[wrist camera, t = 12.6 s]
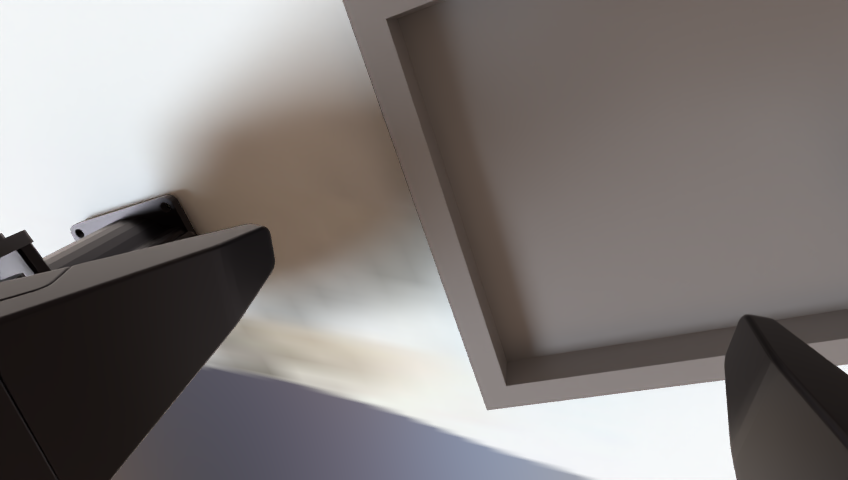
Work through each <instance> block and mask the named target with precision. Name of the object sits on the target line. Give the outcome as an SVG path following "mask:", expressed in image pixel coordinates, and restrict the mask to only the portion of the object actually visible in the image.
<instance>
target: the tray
mask: <svg viewBox="0 0 848 480" xmlns="http://www.w3.org/2000/svg"><path fill="white" fill-rule="evenodd" d="M343 3H344V6H345V9H346V12H347V14H348V17H349V20H350V23H351V26H352V29H353V31H354V34H355V37H356V40H357V43H358V46H359V48H360V51H361V54H362V57H363V60H364V63H365V65H366V68H367V71H368V74H369V77H370V80H371V82H372V85H373V88H374V91H375V94H376V97H377V99H378V102H379V105H380V108H381V111H382V114H383V116H384V119H385V122H386V125H387V128H388V131H389V133H390V136H391V139H392V142H393V145H394V148H395V150H396V153H397V156H398V159H399V162H400V165H401V167H402V170H403V173H404V176H405V179H406V182H407V184H408V187H409V190H410V193H411V196H412V199H413V201H414V204H415V207H416V210H417V213H418V216H419V218H420V221H421V224H422V227H423V230H424V233H425V235H426V238H427V241H428V244H429V247H430V250H431V252H432V255H433V258H434V261H435V264H436V267H437V269H438V272H439V275H440V278H441V281H442V284H443V286H444V289H445V292H446V295H447V298H448V301H449V303H450V306H451V309H452V312H453V315H454V318H455V320H456V323H457V326H458V329H459V332H460V335H461V337H462V340H463V343H464V346H465V349H466V352H467V354H468V357H469V360H470V363H471V366H472V369H473V371H474V374H475V377H476V380H477V383H478V386H479V388H480V391H481V394H482V397H483V400H484V403H485V405H486V408H487V410H492V409H500V408H508V407H516V406H523V405H531V404H539V403H547V402H555V401H563V400H570V399H578V398H586V397H594V396H602V395H610V394H618V393H625V392H633V391H641V390H649V389H657V388H665V387H673V386H680V385H688V384H696V383H704V382H712V381H720V380H725V370H724V361H725V355H726V352H727V349H728V347H729V344H730V342H731V339H732V337H733V334H734V331H735V329H736V326H737V324H738V322H739V320H740V318H741V317H742V316H743V315H745V314H751V315H757V316H762V317H768V318H772V319H774V320H776V321H777V322H778V323H780V324H781V325H782V326H784V327H785V328H786V329H788V330H789V331H790V332H792V333H793V334H794V335H796V336H797V337H798V338H800V339H801V340H802V341H804V342H805V343H806V344H808V345H809V346H810V347H812V348H813V349H814V350H816V351H817V352H818V353H820V354H821V355H822V356H824V357H825V358H826V359H828V360H829V361H830V362H832V363H833V364H834V365H836V366H837V365H845V364H848V0H343Z"/></svg>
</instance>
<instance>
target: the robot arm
mask: <svg viewBox="0 0 848 480" xmlns="http://www.w3.org/2000/svg"><path fill="white" fill-rule="evenodd" d="M166 203H167V204H168V205H169V206H170V209H169V208H168V207H167V206H166ZM82 231H83V232H84V233H83V232H82ZM71 234H72V236H73V237H74V239H75V242H73V243H71V244H69V245H67V246H65V247H63V248H61V249H59V250H57V251H55V252H54V253H52V254H50V255H48V256H46V257H44V258H42V257H41V255H40V254H39V253H38V251H37V250H36V249H35V247H34V246H33V245H32V242H34V241H33V240H32V239H31V237H30V236H29V235H28V233H27V232H26V231H25V230H23V231H21V232H18V233H16V234H14V235H11V236H9V237H7V238H5V237H4V236H3V234H2V233H1V234H0V480H111V479H112V478H113V476H114V475H115V474H116V473H117V471H118V470H119V469H120V468H121V467H122V465H123V464H124V463H125V462H126V460H127V459H128V458H129V457H130V455H131V454H132V453H133V452H134V451H135V449H136V448H137V447H138V446H139V444H140V443H141V442H142V441H143V440H144V438H145V437H146V436H147V435H148V433H149V432H150V431H151V430H152V428H153V427H154V426H155V425H156V424H157V422H158V421H159V420H160V418H161V417H162V416H163V415H164V414H165V412H166V411H167V410H168V409H169V408H170V406H171V405H172V404H173V403H174V401H175V400H176V399H177V398H178V397H179V395H180V394H181V393H182V392H183V390H184V389H185V388H186V386H187V385H188V384H189V383H190V382H191V380H192V379H193V378H194V377H195V376H196V374H197V373H198V372H199V371H200V369H201V368H202V367H203V366H204V365H205V363H206V362H207V361H208V360H209V358H210V357H211V356H212V355H213V353H214V352H215V351H216V350H217V349H218V347H219V346H220V345H221V344H222V342H223V341H224V340H225V339H226V338H227V336H228V335H229V334H230V333H231V331H232V330H233V329H234V327H235V326H236V325H237V324H238V322H239V321H240V319H241V318H242V316H243V315H244V313H245V312H246V310H247V309H248V307H249V306H250V304H251V303H252V301H253V300H254V298H255V297H256V295H257V294H258V292H259V291H260V289H261V288H262V286H263V284H264V283H265V281H266V280H267V278H268V277H269V275H270V274H271V272H272V271H273V268H274V264H275V258H274V252H273V246H272V240H271V234H270V231H269V230H268V228H266V227H265V226H261V225H255V224H245V225H241V226H237V227H233V228H228V229H224V230H220V231H216V232H212V233H208V234H203V235H199V236H197V235H196V233H195V231H194V229H193V227H192V225H191V223H190V222H189V220H188V218H187V216H186V214H185V212H184V210H183V209H182V207H181V205H180V203H179V201H178V200H177V199H176V198H175V197H174V196H172V195H164V196H160V197H157V198H154V199H151V200H148V201H145V202H142V203H138V204H135V205H132V206H129V207H126V208H123V209H119V210H116V211H113V212H110V213H107V214H104V215H100V216H97V217H94V218H91V219H88V220H85V221H81V222H79V223H77V224H75V225H73V226H72V227H71ZM724 370H725V383H726V396H727V410H728V423H729V436H730V446H731V453H732V458H733V464H734V469H735V473H736V478H737V480H848V374H846V373H845V372H844V371H842V370H841V369H840V368H838V367H837V366H836V365H834V364H833V363H832V362H830V361H829V360H828V359H826V358H825V357H824V356H822V355H821V354H820V353H818V352H817V351H816V350H814V349H813V348H812V347H810V346H809V345H808V344H806V343H805V342H804V341H802V340H801V339H800V338H798V337H797V336H796V335H794V334H793V333H792V332H790V331H789V330H788V329H786V328H785V327H784V326H782V325H781V324H780V323H778V322H777V321H776V320H774V319H772V318H768V317H762V316H757V315H751V314H745V315H743V316H742V317H741V318H740V320H739V322H738V324H737V326H736V329H735V331H734V334H733V337H732V339H731V342H730V344H729V347H728V349H727V352H726V355H725V361H724Z"/></svg>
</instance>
